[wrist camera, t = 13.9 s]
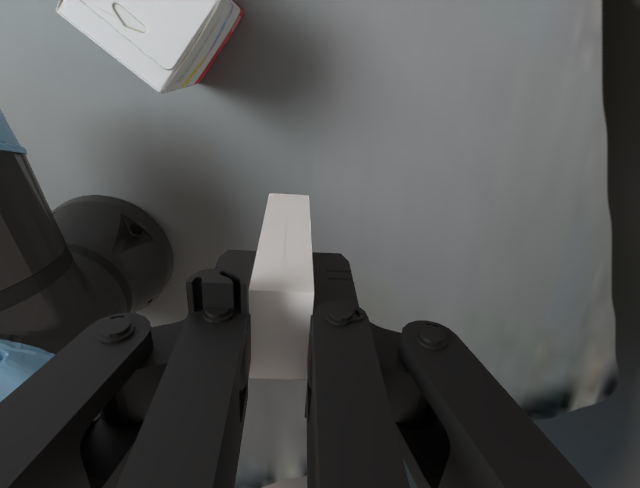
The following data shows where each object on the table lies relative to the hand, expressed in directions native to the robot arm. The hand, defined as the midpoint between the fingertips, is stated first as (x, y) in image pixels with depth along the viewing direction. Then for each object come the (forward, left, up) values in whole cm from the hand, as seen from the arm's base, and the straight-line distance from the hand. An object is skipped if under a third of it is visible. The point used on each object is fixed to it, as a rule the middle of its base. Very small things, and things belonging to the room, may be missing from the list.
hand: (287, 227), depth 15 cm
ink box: (-11, +8, -30) cm, 33 cm away
